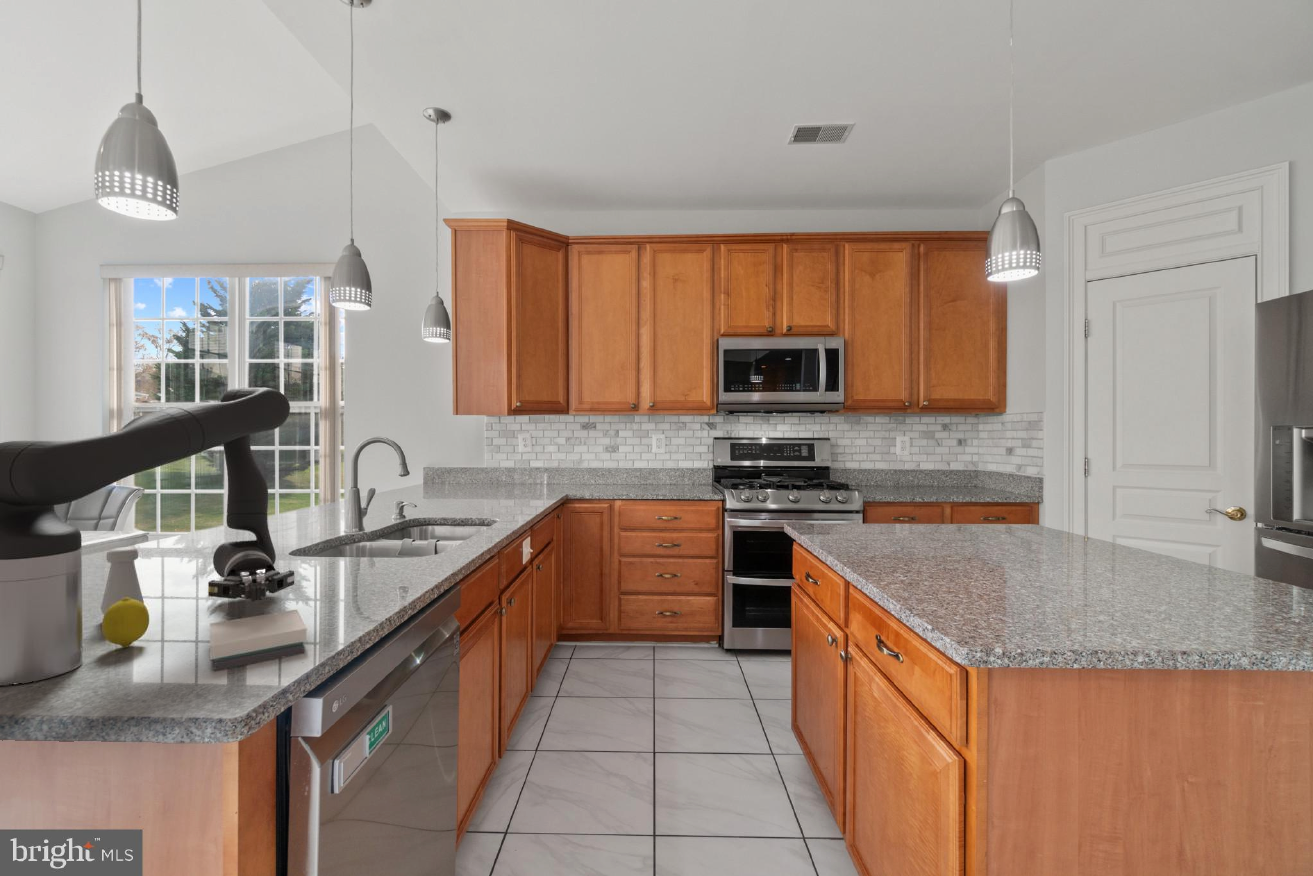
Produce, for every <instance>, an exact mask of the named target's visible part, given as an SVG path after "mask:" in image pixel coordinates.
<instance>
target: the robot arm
mask: <svg viewBox="0 0 1313 876" xmlns="http://www.w3.org/2000/svg"><path fill="white" fill-rule="evenodd" d="M290 413H291V407H290V402H289V400H288V398H287V396H285V394H284V393H282V392H281V391H279V390H277V389H274V388H271V387H237V388H236V387H235V388H231V389H229V390H227V391H226V392H225V393H224V394H223V395H222V397H221V399H220V402H208V403H196V404H195V403H194V404H193V403H192V404H185V405H180V406H179V405H178V406H174V407H173V406H172V407H169V408H168V407H167V408H165V409H160V410H156V411H152V412H148V413H144V414H142V415H139V416H137V417H135V418H133V419H131V420H130V421H129V422H128V423H127V424H125V425H124V426H122V428H120V429H119V430H116V431H114V432H112V433H107V434H103V435H102V434H101V435H97V436H92V437H86V438H79V439H78V438H77V439H71V440H9V441H3V442H0V686H7V685H6V684H14V683H22V684H27V683H31V682H32V681H33V682H37V681H41V680H42V681H43V680H46V679H49V678H53V677H56V676H60V675H62V674H65V673H67V672H71V671H73V670H75V669H76V668H79V667H80V666H81V665H82V664H83V652H84V648H83V647H84V646H83V565H82V563H83V559H82V558H83V553H82V552H83V548H82V547H83V546H82V545H83V544H82V543H83V542H82V541H83V540H82V532H81V531H80V530H79V529H78V528H77V527H75V526H73V525H71V524H69V523H67V522H65V521H63V520H62V519H61V518H60V517H59V516H58V514H57V513H56V511H55V506H59V505H65V504H69V503H71V502H75V501H78V500H80V499H82V498H84V497H87V496H89V495H91V494H94V493H95V492H97V491H100V490H101V489H103V488H106V487H108V486H110V485H112V484H114V483H116V482H118V481H121V480H123V479H126V478H127V477H130V476H132V475H137V474H138V473H143V472H147V471H149V470H153V469H155V468H159V467H162V466H164V465H169V464H173V463H175V462H177V461H180V460H184V459H187V458H189V457H193V456H195V455H198V454H200V453H202V452H204V451H208V450H210V449H212V448H216V447H219V446H221V445H222V446H223V452H224V459H225V463H226V464H225V465H226V471H227V472H226V473H227V474H226V475H227V501H226V502H227V504H226V525H227V528H229V529H232V530H235V531H236V530H238V531H246V532H250V533H252V534H253V535H254V536H255V538H256V539H252V540H251V539H250V540H240V541H235V540H234V541H226V542H223V543H222V544H220V545H218V547H217V548H216V550H215V551H214V552H213V557H212V564H213V568H214V570H215V573H217V575H218V576H220V577H221V578H223V579H221V580H215V579H213V580H209V581H207V582H208V583H207V586H208V587H207V589H208V590H207V591H208V592H207V593H208V597H212V598H220V599H221V598H223V599H231V600H232V599H233V600H236V599H245V600H250V602H256V601H262V599H263V598H264V597H267V592H268V593H269V594H275V593H278V592H280V591H282V590H285V589H287V588H289V587H291V586H294V585H295V570H291V569H290V570H288V571H285V572H280V571H277V570H276V568H275V565H274V564H275V563H276V560H277V559H276V558H277V557H276V550H275V547H274V544H273V540H272V537H271V534H270V531H269V524H268V523H269V522H268V521H269V520H268V510H269V508H268V507H269V487H268V485H267V480H266V479H265V476H264V474H263V472H262V470H261V469H260V467H259V465H258V463H257V462H256V459H255V457H254V455H253V452H252V448H251V435H253V434H257V433H262V432H268V431H269V432H270V431H273V430H276V429H278V428H279V427H281V426H282V425H283V424H284V423H285V422H286V421H287V420H288V418H289V415H290ZM4 684H5V685H4ZM14 685H15V684H14Z"/></svg>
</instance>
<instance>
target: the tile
mask: <svg viewBox="0 0 1313 876" xmlns="http://www.w3.org/2000/svg"><path fill="white" fill-rule="evenodd" d="M307 632H308V631H307V626H306V625H305V622H304V620H303V618H302V616H301V614H300V612H299V610H298V609H290V610H284V611H279V612H274V613H266V614H261V615H254V616H249V617H242V618H236V619H231V620H224V621H218V622H212V623H209V646H210V647H209V653H210V657H209V658H210V660H213V662H215V661H219V660H224V659H229V658H234V657H239V656H244V655H249V654H254V653H259V652H264V651H269V650H274V649H279V648H284V647H289V646H295V645H300V644H303V645H304V642H307V640H308V639H307V637H308V636H307Z"/></svg>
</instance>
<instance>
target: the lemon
mask: <svg viewBox="0 0 1313 876" xmlns="http://www.w3.org/2000/svg"><path fill="white" fill-rule="evenodd" d="M149 614H150V613H149V609H148V607H147V606H146V605H145V603H144V604H143V603H142V602H140V601H138V600H134V599H130V598H129V597H127V598H123V599H122V600H121V601H119V602H117V603H115V604H113V605H112V606H111V607H110V608H109V609H108V610H107V611H106V613H105V615H104V614H103V619H102V623H101V631H102V634H103V637H104V639H106V640H107V641H108V642H109V643H110V644H114V645H119V646H120V647H122V648H128V647H130V646H131V645H132V644H133V643H134V642H136V641H138V640H139V639H141V638H142V637H143V636H144V635H145V633H146V632H147V630H148V628H149V625H150V615H149Z"/></svg>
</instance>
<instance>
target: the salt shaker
mask: <svg viewBox="0 0 1313 876" xmlns="http://www.w3.org/2000/svg"><path fill="white" fill-rule="evenodd" d="M138 558H139V550H138V548H136V547H132V546H126V547H125V546H124V547H123V546H121V547H117V548H112V549H110V550H109V551H107V552H106V556H105V559H106V561H107V563H110V566H109V571H108V574H107V580H106V584H105V588H104V594H103V597H102V600H101V601H102V602H101V605H100V609H101V613H102V614H103V616H104V615H105V613H106V611H107V610H108V609H109V608H110V607H111V606H112V605H113V604H115V603H117V602H119V601H121V600H122V599H123V598H127V597H129V598H130V599H134V600H138V601H140V602H142V603H143V604H144V605H145V601H144V596H143V593H142V590H141V586H140V581H139V577H138V574H137V568H136V564H135V561H136V560H138Z"/></svg>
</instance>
